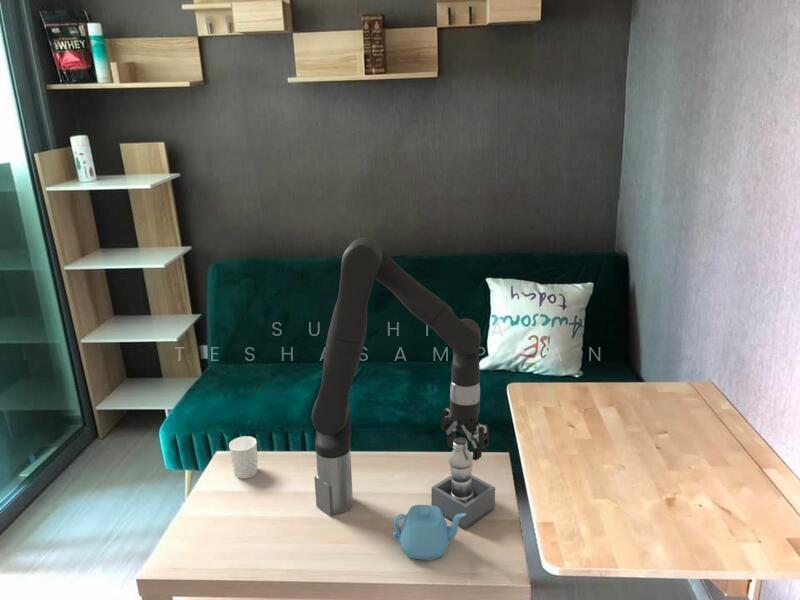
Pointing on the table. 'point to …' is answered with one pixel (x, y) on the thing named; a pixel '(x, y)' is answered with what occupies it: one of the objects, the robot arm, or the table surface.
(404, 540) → the teapot
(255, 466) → the white cup
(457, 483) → the plastic bottle
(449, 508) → the gray square open box
